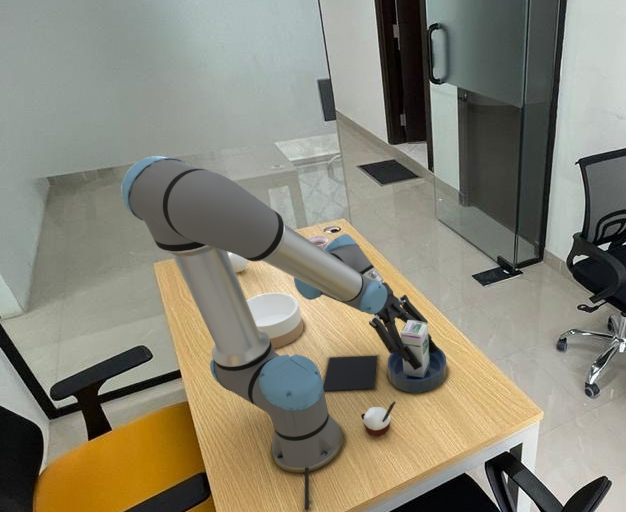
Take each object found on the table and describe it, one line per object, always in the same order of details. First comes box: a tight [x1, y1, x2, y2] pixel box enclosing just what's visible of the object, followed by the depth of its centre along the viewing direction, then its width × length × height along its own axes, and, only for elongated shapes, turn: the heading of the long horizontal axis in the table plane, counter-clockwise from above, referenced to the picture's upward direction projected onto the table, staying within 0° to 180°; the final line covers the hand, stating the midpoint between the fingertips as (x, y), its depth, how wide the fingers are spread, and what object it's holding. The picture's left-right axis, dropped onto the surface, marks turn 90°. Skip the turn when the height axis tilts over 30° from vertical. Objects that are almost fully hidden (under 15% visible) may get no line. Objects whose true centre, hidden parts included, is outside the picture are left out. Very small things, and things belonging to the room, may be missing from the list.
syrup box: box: [399, 320, 430, 378], centre depth 130 cm, size 6×6×14 cm
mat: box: [323, 355, 378, 392], centre depth 134 cm, size 13×13×1 cm
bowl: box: [246, 292, 304, 350], centre depth 146 cm, size 17×17×8 cm
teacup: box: [307, 234, 329, 250], centre depth 184 cm, size 12×12×6 cm
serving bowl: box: [387, 347, 447, 394], centre depth 134 cm, size 16×16×4 cm
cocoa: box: [360, 401, 396, 438], centre depth 115 cm, size 10×6×12 cm, turn 40°
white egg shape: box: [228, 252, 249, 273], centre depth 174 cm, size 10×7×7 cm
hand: (426, 359), depth 130 cm, fingers closed on syrup box, 7 cm apart
